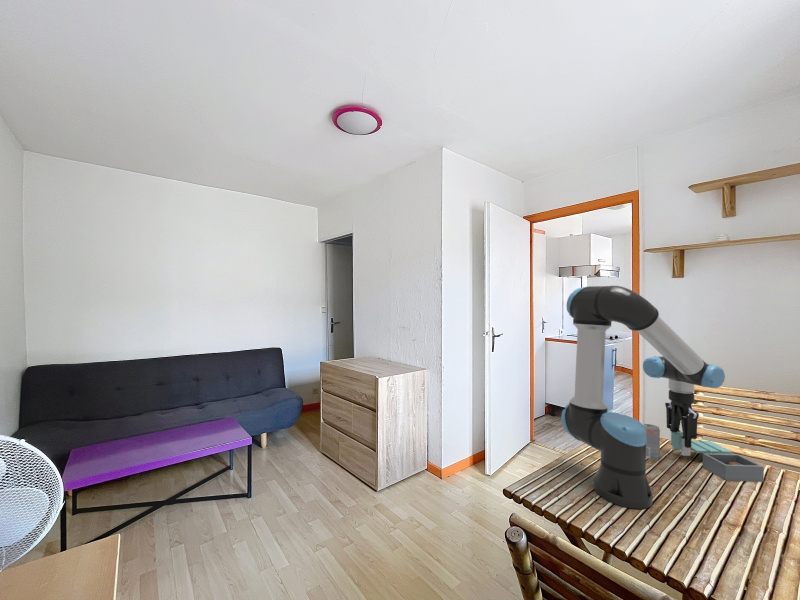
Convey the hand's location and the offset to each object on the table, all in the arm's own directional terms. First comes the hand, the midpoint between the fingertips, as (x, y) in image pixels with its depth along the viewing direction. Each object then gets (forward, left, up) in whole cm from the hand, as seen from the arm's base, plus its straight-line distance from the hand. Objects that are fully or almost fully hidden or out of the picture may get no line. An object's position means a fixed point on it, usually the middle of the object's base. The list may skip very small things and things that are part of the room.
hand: (680, 452), depth 129 cm
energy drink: (-11, 0, -3) cm, 11 cm away
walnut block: (+10, -11, -2) cm, 15 cm away
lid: (+6, 0, +1) cm, 6 cm away
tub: (+8, -12, -2) cm, 15 cm away
